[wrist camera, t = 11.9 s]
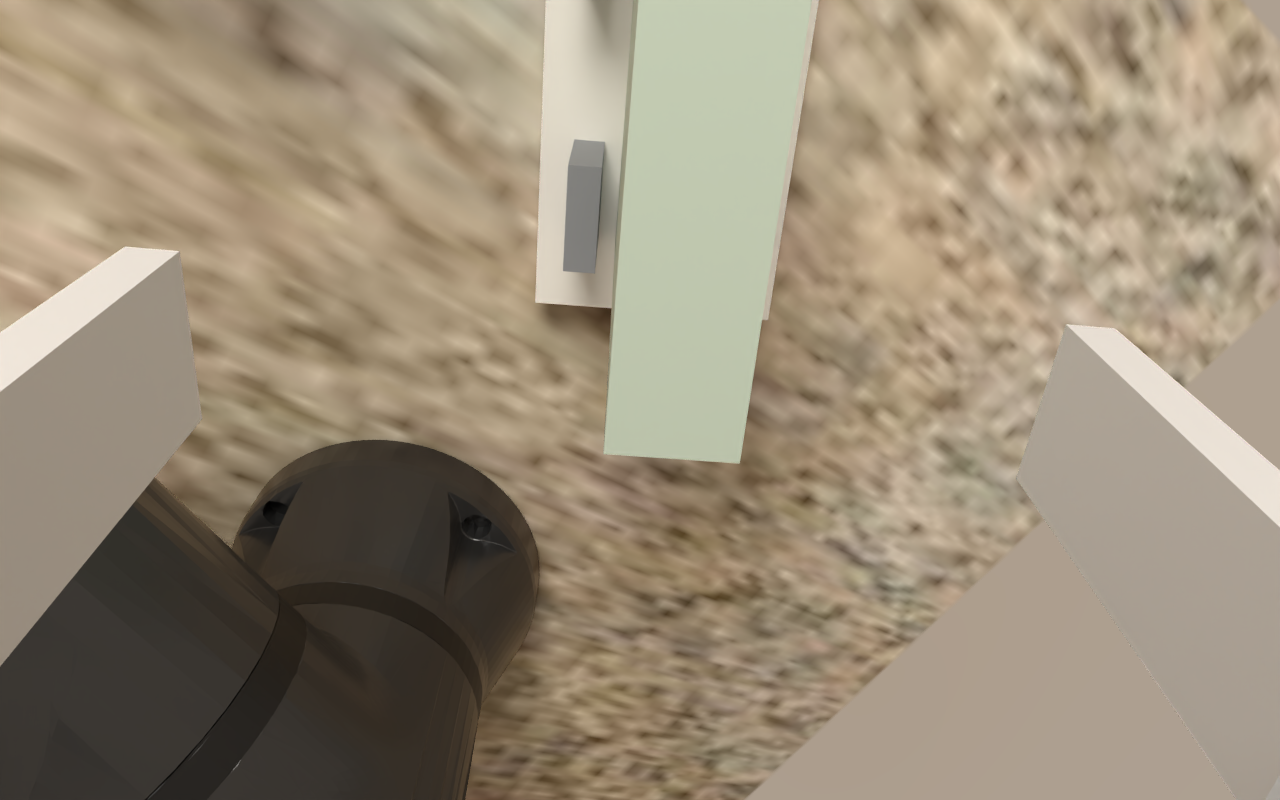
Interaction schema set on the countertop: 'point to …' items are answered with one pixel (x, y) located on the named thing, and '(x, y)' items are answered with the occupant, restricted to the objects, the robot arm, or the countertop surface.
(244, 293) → the countertop surface
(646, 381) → the door
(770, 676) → the countertop surface
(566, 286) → the cabinet base
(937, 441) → the countertop surface
